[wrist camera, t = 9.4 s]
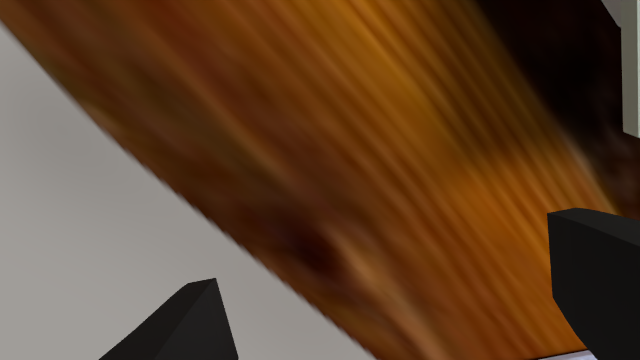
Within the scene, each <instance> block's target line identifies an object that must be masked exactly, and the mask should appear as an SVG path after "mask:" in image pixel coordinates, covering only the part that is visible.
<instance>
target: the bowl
mask: <svg viewBox="0 0 640 360" xmlns="http://www.w3.org/2000/svg"><path fill="white" fill-rule="evenodd" d="M601 1H602V2H603V4H604V5H605V7H606V8H607V10H608V12H609V13H610V15H611V16H612V18H613V19H614V21H615V22H616V24H617V25H618V26H619V27H621V0H601Z"/></svg>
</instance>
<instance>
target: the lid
mask: <svg viewBox="0 0 640 360" xmlns="http://www.w3.org/2000/svg"><path fill="white" fill-rule="evenodd" d="M621 45H622V96H623V132H625V133H628V134H630V135H633V136H636V137H638V138H639V137H640V0H621Z"/></svg>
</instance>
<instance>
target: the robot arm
mask: <svg viewBox="0 0 640 360" xmlns="http://www.w3.org/2000/svg"><path fill="white" fill-rule="evenodd" d="M547 219H548V234H549V249H550V264H551V279H552V294H553V298H554V300H555V302H556V303H557V305H558V307H559V308H560V310H561V312H562V313H563V315H564V317H565V318H566V320H567V321H568V323H569V324H570V326H571V327H572V329H573V331H574V332H575V334H576V335H577V336H578V337H579V339H580V340H581V341H582V342H583V343H584V345H585V346H586V347H587V348H588V349H589V350H587V351H582V352H577V353H571V354H566V355H561V356H555V357H550V358H545V359H540V360H640V221H637V220H633V219H629V218H625V217H621V216H617V215H613V214H609V213H605V212H600V211H595V210H590V209H583V208H572V209H567V210H562V211H556V212H551V213H547ZM99 360H238V354H237V351H236V347H235V344H234V340H233V337H232V333H231V330H230V326H229V323H228V319H227V316H226V312H225V308H224V305H223V302H222V298H221V294H220V291H219V287H218V284H217V281H216V278H213V279H207V280H202V281H197V282H192V283H188V284H186V285H185V286H184V287H182V288H181V289H180V290H179V291H177V292H176V293H175V294H174V295H173V296H171V297H170V298H169V299H168V300H167V301H166V302H165V303H164V304H162V305H161V306H160V307H159V308H158V309H157V310H156V311H155V312H154V313H153V314H152V315H151V316H149V317H148V318H147V319H146V320H145V321H144V322H143V323H142V324H140V325H139V326H138V327H137V328H136V329H135V330H134V331H133V332H131V333H130V334H129V335H128V336H127V337H126V338H124V339H123V340H122V341H121V342H119V343H118V344H117V345H116V346H114V347H113V348H112V349H111V350H110V351H108V352H107V353H106V354H105V355H104V356H102V357H101V358H100V359H99Z"/></svg>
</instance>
